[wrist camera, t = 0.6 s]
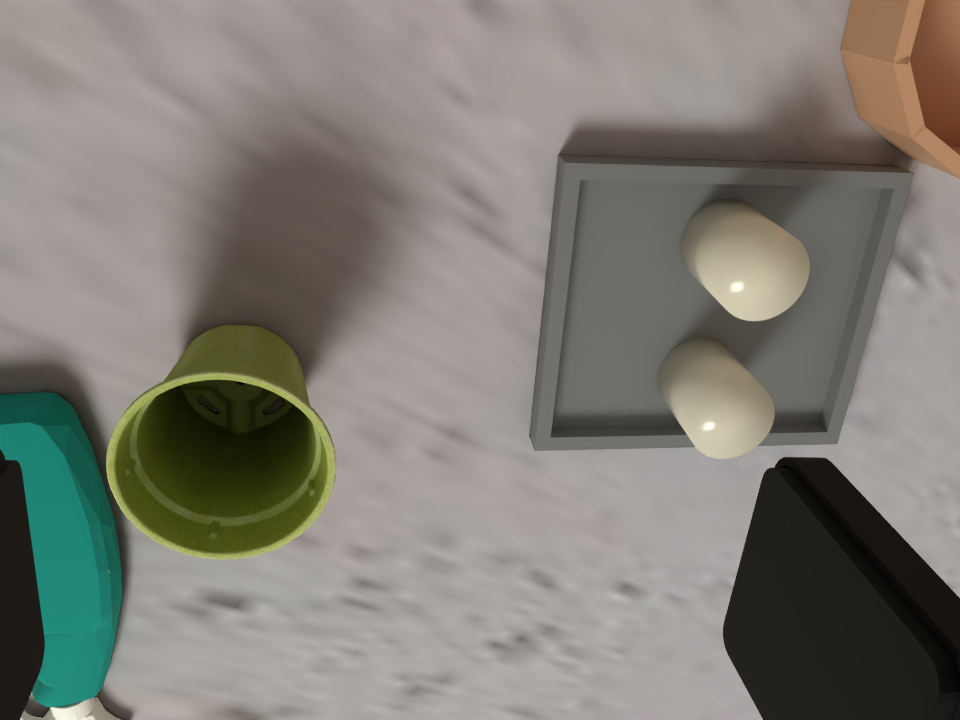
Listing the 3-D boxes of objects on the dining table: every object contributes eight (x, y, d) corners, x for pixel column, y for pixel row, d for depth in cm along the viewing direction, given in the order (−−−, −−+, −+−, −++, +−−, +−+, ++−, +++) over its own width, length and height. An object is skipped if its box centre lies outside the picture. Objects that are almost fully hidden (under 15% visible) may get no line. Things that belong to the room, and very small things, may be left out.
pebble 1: (687, 198, 44) (727, 230, 39) (771, 199, 44) (819, 231, 40) (673, 281, 45) (709, 321, 41) (753, 282, 46) (797, 321, 42)
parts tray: (558, 154, 42) (565, 162, 41) (896, 165, 45) (913, 173, 44) (529, 436, 49) (534, 450, 48) (824, 430, 52) (837, 444, 50)
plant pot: (374, 376, 46) (381, 468, 38) (248, 485, 48) (231, 594, 40) (237, 253, 42) (214, 328, 34) (105, 377, 44) (56, 475, 36)
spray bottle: (89, 381, 44) (171, 722, 56) (-146, 398, 43) (-12, 744, 54) (74, 411, 42) (163, 762, 53) (-176, 430, 40) (-30, 786, 52)
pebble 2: (663, 338, 47) (697, 382, 42) (741, 338, 48) (783, 381, 43) (651, 410, 49) (682, 459, 44) (726, 409, 49) (764, 457, 45)
